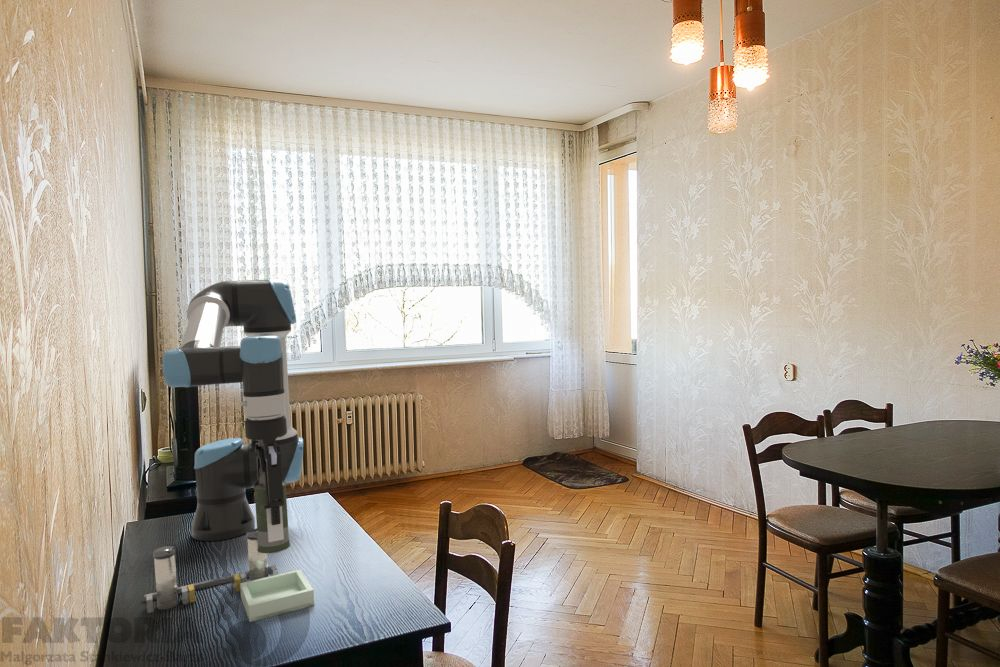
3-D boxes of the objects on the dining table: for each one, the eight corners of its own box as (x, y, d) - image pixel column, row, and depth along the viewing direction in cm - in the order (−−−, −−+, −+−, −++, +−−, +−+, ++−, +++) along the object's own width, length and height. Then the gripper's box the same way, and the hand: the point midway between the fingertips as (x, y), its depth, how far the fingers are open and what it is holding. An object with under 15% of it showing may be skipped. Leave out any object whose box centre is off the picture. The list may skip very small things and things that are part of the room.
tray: (241, 598, 128) (240, 583, 128) (300, 583, 134) (300, 569, 134) (249, 622, 118) (248, 606, 118) (314, 605, 124) (313, 589, 124)
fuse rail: (144, 599, 129) (140, 545, 129) (274, 569, 142) (271, 520, 141) (144, 614, 123) (140, 557, 122) (281, 581, 135) (278, 529, 135)
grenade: (297, 544, 126) (292, 468, 125) (272, 555, 121) (267, 476, 120) (274, 539, 129) (270, 465, 129) (249, 550, 124) (244, 472, 124)
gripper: (237, 412, 131) (245, 525, 132) (252, 425, 114) (260, 555, 115) (276, 408, 134) (283, 518, 135) (296, 420, 118) (303, 545, 119)
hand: (272, 534), depth 125 cm, fingers closed on grenade, 6 cm apart
